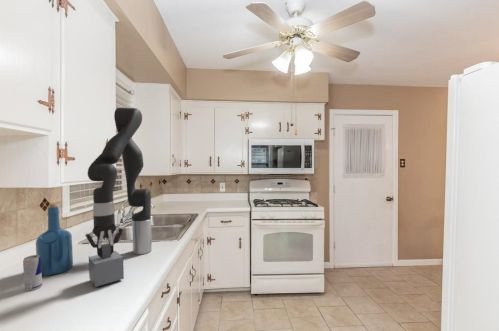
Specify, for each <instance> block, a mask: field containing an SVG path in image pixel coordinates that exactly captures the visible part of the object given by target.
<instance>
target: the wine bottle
mask: <svg viewBox="0 0 499 331" xmlns="http://www.w3.org/2000/svg"><path fill="white" fill-rule="evenodd" d="M48 205H49V206H48V207H47V212H46V213H47V214H46V215H47V230H45V231H44V232H42V233H41V234H40V235H39V236H38V237H37V238H36V240H35V255H40V257H41V270H42V276H54V275H58V274H61V273H64V272H67V271H69V270H70V269H72V267H73V265H74V260H73V259H74V258H73V256H74V255H73V253H74V252H73V236H72V233H71V232H70V231H69V230H67V229H63V228H62V227H61V224H60V210H59V206H57V203H49V204H48Z"/></svg>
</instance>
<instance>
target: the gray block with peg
mask: <svg viewBox="0 0 499 331" xmlns="http://www.w3.org/2000/svg"><path fill="white" fill-rule="evenodd" d="M101 248H102V257H99V256H98V254H96V255H92V256H91V255H90V256H88V274H89V280H90V281H91V282H92V284H93V286H94V287H95V288H97V287H100V286H103V285H107V284H111V283H114V282H116V281H120V280H123V279H125V274H124V269H125V268H124V256H122V254H120V253H119V252H118V251H116V250H114V252H113V253H112V255H111V246H110V244H109V242H107V243H104V244H102V246H101Z"/></svg>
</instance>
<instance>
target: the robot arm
mask: <svg viewBox="0 0 499 331" xmlns="http://www.w3.org/2000/svg"><path fill="white" fill-rule="evenodd" d="M113 116H114V117H113V118H114V124H115V127H116V131H117V133H116V134H115V135H113V136H112V137H111V138H110V139H109V140H108V141H107V142H106V143H105V146H104V148H103V150H102V152H101V153H100V154H99V155H98V156H97V157H96V158H95V159H94V160H93V162H91V164H90V165H89V167H88V168H87V177H88V179H89V180H90V181H92V182H102V184H101V186H99V187H96V188H94V189H93V192H92V193H93V194H92V195H93V196H92V198H93V200H92V201H93V207H92V213H93V214H92V215H93V217H92V218H93V229H92V231H91V232H88V233H86V234H85V235H84V236H85V237H86V239H87V241H88V242H89V244H90V246H91V247H92V249H95V248H96V255H98V256H99V257H102V248H101V246H102V243H103V241H104V239H107V240H108V242H107V243H109V244H110V246H111V255H112V253H113V252H114V251H115V250H114V245H115V244H118V243H119V241H120V238H121V236H122V233H123V231H124V229H123V228H121V227H117V226H116V220H115V216H116V215H115V202H114V189H115V185H116V181H117V177H118V171H117V168H116V166H115V164H117V163H118V162H119V160H120V158H122V166H123V168H124V176H125V180H126V182H125V183H126V194H127V203H128V205H129V207H131V208H132V207H133V208H135V207H136V208H138V207H139V208H141V207H142V210H140V211H138V212H135V213H133V214H132V215H131V226H132V227H131V229H132V232H131V234H132V254H134V255H145V254H148V253H150V252H152V250H153V248H152V219H151V218H152V217H151V216H152V215H151V214H152V212H151V209H152V205H151V204H152V194H151V191H150V189H149V188H136V181H137V179H138V178H139V176H140V174H141V172H142V170H143V168H144V158H143V156H144V155H143V152H142V150H141V148H139V146H138V144H137V143H136V142H135V140H133V138H132V137H133V136H134V135H135V133H136V132H137V131H138V129H139V128H140V127H141V125H142V122H143V121H142V120H143V114H142V112H141V110H140V109H138V108H137V107H136V108H135V107H118V108H116V109H115V110H114V115H113ZM114 233H115V235H114ZM113 235H114V238H113ZM94 236H96V242H95V240H93V238H94Z"/></svg>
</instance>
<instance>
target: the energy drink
mask: <svg viewBox="0 0 499 331" xmlns="http://www.w3.org/2000/svg"><path fill="white" fill-rule="evenodd" d="M22 266H23V286H24V287H23V288H24V291H27V292H31V291H35V290H38V289H40V288H41V287H42V286H43V277H42V270H41V257H40V255H36V254H34V255H33V254H32V255H29V256H26V257H24V258H23V261H22Z"/></svg>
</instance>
